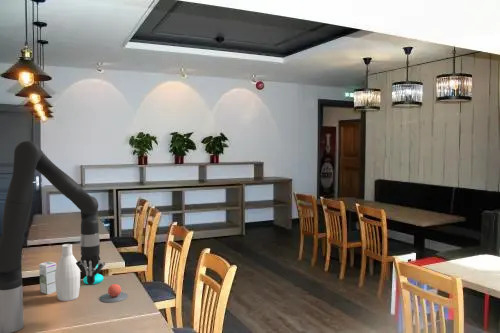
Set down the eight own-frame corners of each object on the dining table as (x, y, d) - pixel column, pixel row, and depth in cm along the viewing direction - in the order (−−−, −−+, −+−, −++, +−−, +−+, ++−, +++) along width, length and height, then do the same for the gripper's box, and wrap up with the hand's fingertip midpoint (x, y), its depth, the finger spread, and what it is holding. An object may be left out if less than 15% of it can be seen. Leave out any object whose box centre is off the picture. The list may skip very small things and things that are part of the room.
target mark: (102, 304, 194) (102, 304, 194) (96, 295, 205) (96, 295, 205) (131, 299, 201) (131, 298, 201) (123, 290, 212) (123, 290, 212)
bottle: (85, 294, 207) (84, 242, 206) (73, 302, 196) (72, 248, 194) (63, 293, 208) (62, 241, 207) (50, 301, 197) (49, 247, 196)
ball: (110, 283, 201) (116, 279, 207) (103, 292, 202) (109, 288, 208) (119, 292, 200) (125, 288, 206) (112, 301, 201) (118, 296, 207)
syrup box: (57, 291, 211) (56, 262, 210) (46, 295, 206) (45, 265, 205) (50, 289, 214) (49, 260, 213) (39, 292, 209) (38, 263, 208)
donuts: (106, 263, 224) (87, 267, 217) (106, 282, 224) (87, 286, 218) (98, 259, 231) (80, 263, 224) (99, 277, 232) (80, 281, 225)
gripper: (109, 242, 182) (109, 282, 183) (81, 240, 185) (82, 279, 186) (99, 246, 175) (99, 288, 176) (70, 244, 178) (71, 285, 179)
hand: (90, 283), depth 181 cm, fingers closed
